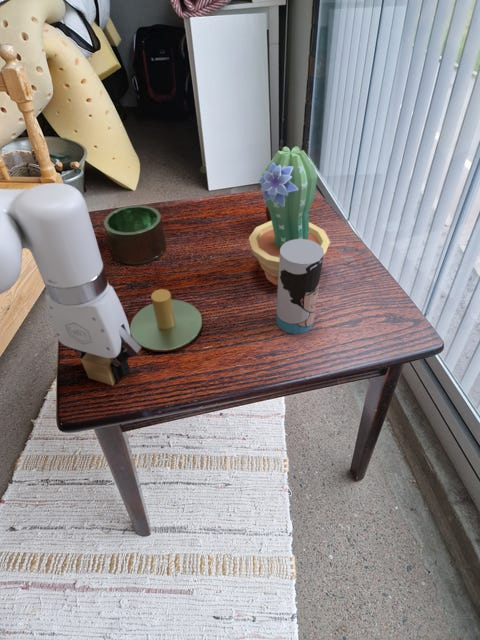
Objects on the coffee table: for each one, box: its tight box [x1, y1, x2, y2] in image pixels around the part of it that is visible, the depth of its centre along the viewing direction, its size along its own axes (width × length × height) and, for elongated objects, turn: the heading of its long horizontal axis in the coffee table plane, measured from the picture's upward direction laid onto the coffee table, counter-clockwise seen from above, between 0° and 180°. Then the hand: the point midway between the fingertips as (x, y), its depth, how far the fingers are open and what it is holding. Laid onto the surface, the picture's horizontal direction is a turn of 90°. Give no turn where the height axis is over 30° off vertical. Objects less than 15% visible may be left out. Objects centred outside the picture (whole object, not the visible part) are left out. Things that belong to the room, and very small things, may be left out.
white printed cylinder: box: [275, 239, 324, 335], centre depth 70 cm, size 7×7×15 cm
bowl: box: [103, 204, 167, 266], centre depth 90 cm, size 12×12×8 cm
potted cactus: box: [248, 145, 331, 286], centre depth 77 cm, size 15×15×25 cm
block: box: [80, 353, 117, 386], centre depth 66 cm, size 4×4×4 cm
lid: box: [129, 288, 203, 353], centre depth 72 cm, size 13×13×8 cm
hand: (108, 369), depth 67 cm, fingers closed on block, 4 cm apart
